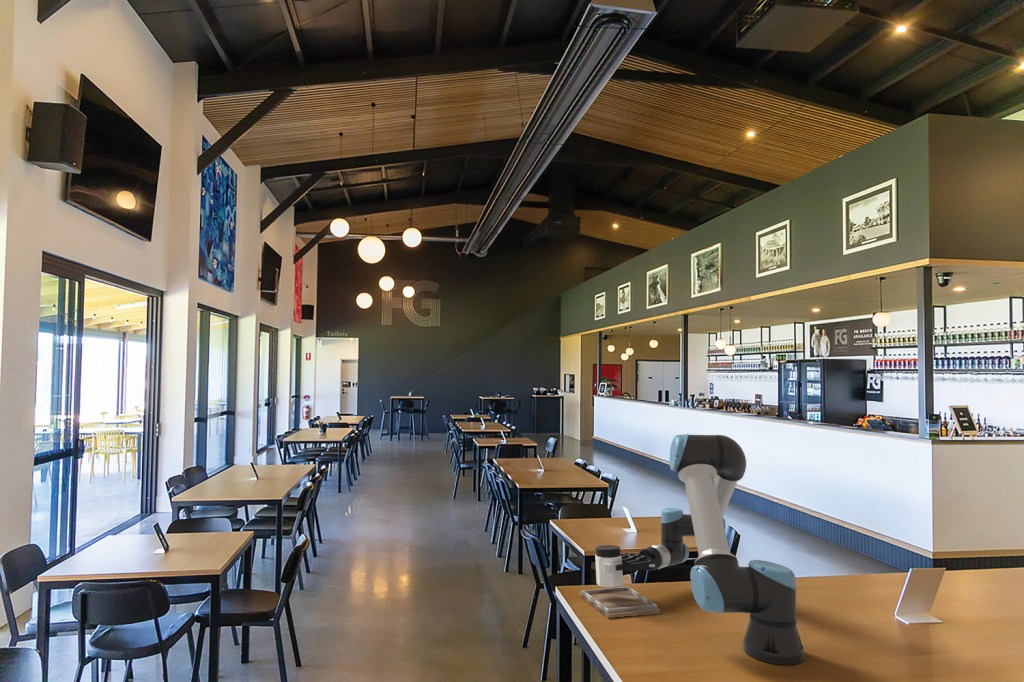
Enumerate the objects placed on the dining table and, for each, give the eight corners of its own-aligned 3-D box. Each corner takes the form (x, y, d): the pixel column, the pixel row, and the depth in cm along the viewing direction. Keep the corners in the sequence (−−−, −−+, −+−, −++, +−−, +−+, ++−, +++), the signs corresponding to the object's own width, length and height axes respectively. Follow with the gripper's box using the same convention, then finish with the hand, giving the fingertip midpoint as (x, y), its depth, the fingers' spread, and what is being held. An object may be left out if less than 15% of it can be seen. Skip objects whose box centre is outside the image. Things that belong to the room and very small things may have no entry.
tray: (660, 613, 194) (660, 606, 194) (608, 618, 189) (608, 611, 189) (626, 591, 215) (626, 585, 215) (579, 595, 209) (579, 589, 210)
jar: (609, 589, 199) (607, 550, 201) (591, 585, 205) (589, 547, 207) (628, 584, 204) (626, 546, 206) (610, 580, 211) (608, 543, 212)
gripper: (669, 573, 208) (621, 586, 194) (638, 564, 219) (591, 575, 204) (669, 550, 209) (622, 561, 194) (639, 542, 219) (591, 552, 205)
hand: (606, 568), depth 199 cm, fingers closed on jar
